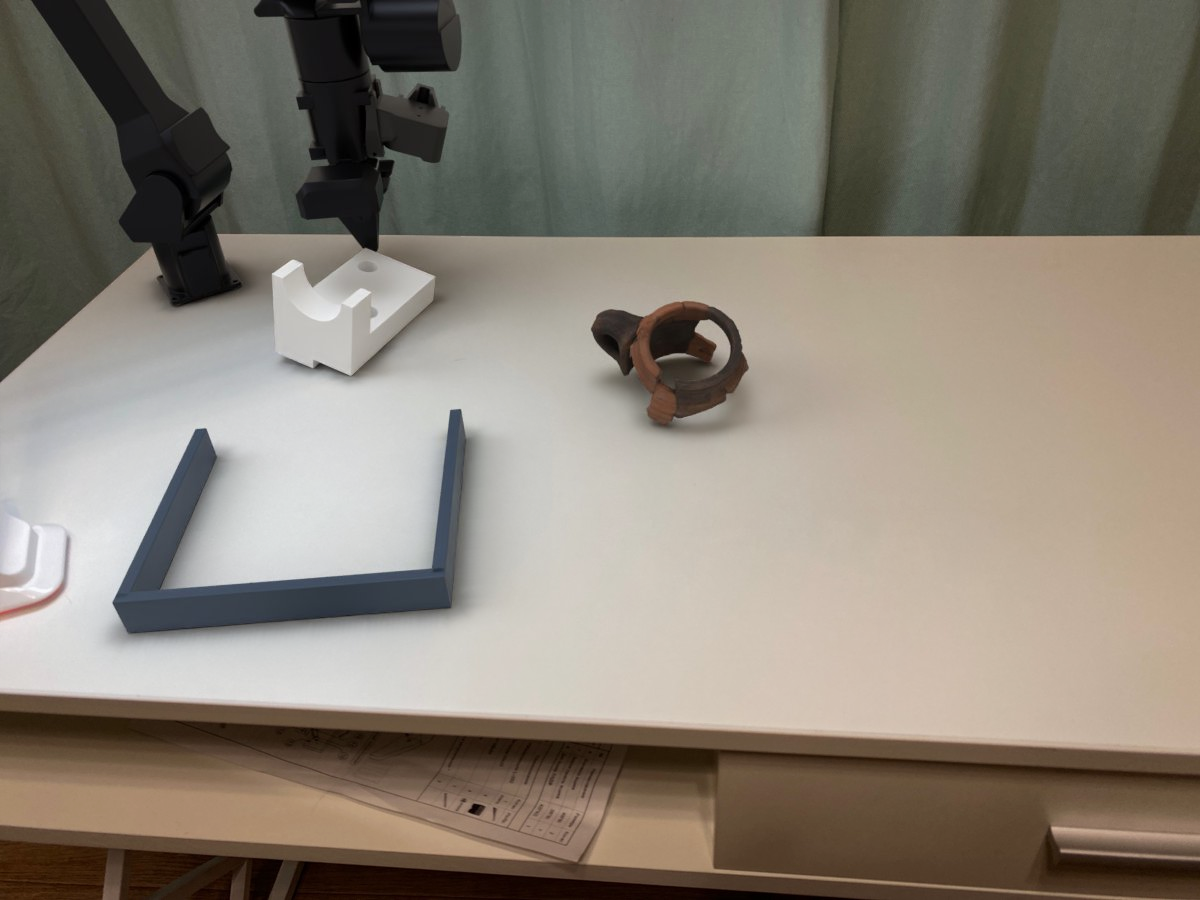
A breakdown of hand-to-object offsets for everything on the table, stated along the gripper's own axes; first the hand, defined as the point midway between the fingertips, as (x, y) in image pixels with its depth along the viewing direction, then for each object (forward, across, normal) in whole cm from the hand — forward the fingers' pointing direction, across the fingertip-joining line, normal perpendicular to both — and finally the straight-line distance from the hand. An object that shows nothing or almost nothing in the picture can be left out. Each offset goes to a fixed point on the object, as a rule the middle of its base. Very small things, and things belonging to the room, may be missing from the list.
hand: (372, 251), depth 85 cm
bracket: (+4, -8, 0) cm, 9 cm away
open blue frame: (+3, -33, 0) cm, 33 cm away
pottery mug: (+4, -21, -24) cm, 32 cm away
